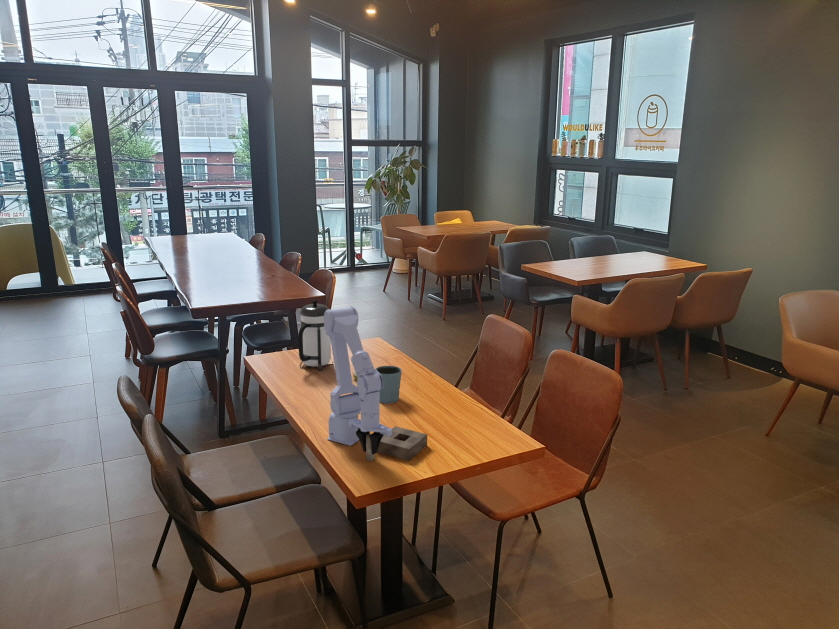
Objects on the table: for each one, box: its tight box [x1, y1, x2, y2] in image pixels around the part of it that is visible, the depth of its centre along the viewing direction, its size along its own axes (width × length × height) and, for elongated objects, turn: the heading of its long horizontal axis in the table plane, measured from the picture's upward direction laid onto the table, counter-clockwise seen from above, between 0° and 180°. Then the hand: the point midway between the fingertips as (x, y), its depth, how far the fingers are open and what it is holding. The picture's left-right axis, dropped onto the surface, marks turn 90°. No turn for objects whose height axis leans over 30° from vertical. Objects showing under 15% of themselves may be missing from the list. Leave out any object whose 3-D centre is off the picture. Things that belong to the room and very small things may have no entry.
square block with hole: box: [377, 425, 428, 462], centre depth 203 cm, size 12×12×4 cm
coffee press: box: [297, 299, 334, 372], centre depth 272 cm, size 17×16×30 cm
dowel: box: [365, 433, 376, 462], centre depth 195 cm, size 3×3×8 cm
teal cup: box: [375, 365, 403, 405], centre depth 241 cm, size 10×10×12 cm
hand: (370, 452), depth 195 cm, fingers closed on dowel, 3 cm apart
